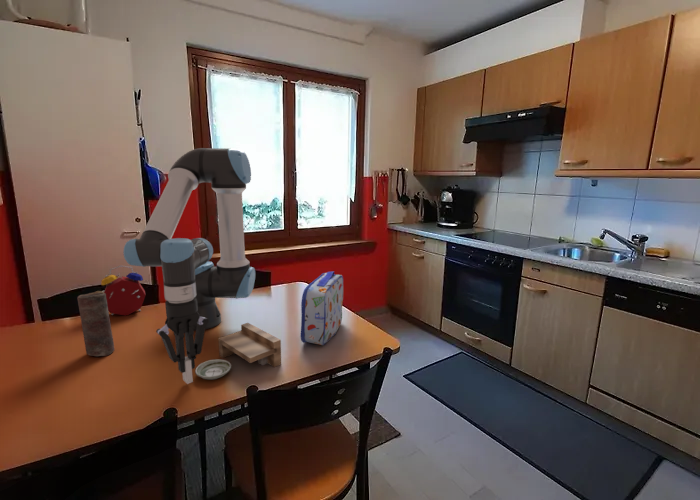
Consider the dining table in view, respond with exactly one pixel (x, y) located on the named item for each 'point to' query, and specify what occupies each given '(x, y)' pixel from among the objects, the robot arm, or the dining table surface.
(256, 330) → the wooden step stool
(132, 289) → the alarm clock
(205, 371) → the saucer
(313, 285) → the lunch box
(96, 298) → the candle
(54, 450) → the dining table surface
